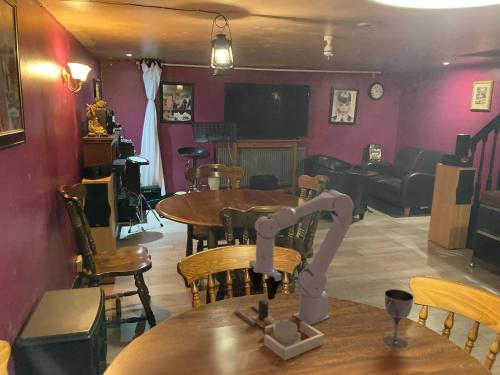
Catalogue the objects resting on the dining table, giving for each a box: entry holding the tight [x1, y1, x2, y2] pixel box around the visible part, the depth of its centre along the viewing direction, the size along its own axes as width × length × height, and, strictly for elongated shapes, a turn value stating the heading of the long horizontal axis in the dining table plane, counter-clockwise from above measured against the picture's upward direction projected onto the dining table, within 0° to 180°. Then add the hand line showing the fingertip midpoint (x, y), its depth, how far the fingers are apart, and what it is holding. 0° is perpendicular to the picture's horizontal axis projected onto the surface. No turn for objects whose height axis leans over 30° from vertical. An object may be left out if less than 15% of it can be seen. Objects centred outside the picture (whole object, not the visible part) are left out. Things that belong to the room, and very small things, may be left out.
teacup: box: [269, 320, 302, 348], centre depth 121 cm, size 10×10×5 cm
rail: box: [234, 303, 274, 326], centre depth 136 cm, size 8×11×1 cm
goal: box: [263, 320, 325, 361], centre depth 119 cm, size 15×10×3 cm, turn 125°
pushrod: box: [251, 299, 293, 335], centre depth 129 cm, size 10×12×7 cm
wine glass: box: [382, 288, 414, 348], centre depth 121 cm, size 8×8×15 cm
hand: (264, 294), depth 130 cm, fingers open, 7 cm apart
